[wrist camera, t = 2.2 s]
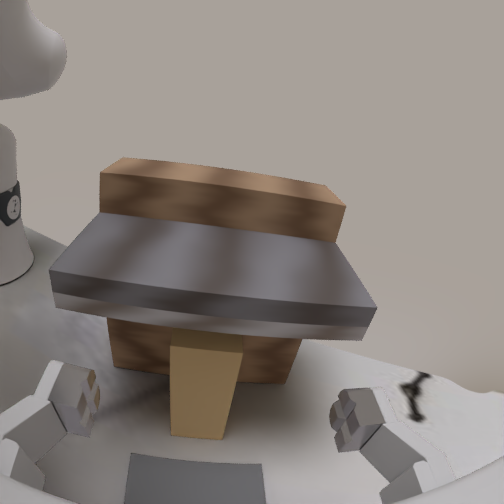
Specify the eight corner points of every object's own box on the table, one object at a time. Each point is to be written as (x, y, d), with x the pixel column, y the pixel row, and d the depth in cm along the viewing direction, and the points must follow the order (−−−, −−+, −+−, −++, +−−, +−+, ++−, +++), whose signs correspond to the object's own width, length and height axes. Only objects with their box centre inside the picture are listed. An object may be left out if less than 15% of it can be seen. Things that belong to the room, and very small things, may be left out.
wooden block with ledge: (95, 431, 24) (42, 215, 14) (125, 332, 37) (122, 157, 27) (297, 449, 27) (397, 260, 17) (277, 349, 40) (325, 185, 30)
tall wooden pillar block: (171, 435, 26) (170, 345, 20) (174, 404, 30) (176, 309, 24) (222, 439, 27) (243, 353, 21) (221, 408, 30) (240, 317, 24)
